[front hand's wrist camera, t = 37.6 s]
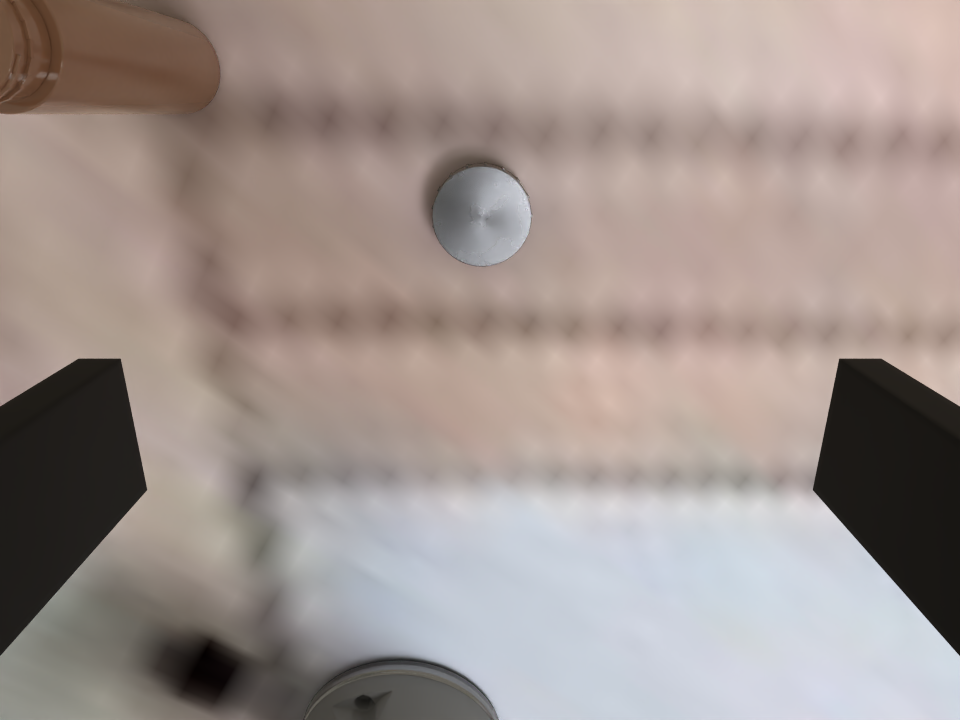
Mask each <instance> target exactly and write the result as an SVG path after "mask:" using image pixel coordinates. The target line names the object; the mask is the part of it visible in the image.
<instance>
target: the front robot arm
mask: <svg viewBox="0 0 960 720" xmlns="http://www.w3.org/2000/svg"><path fill="white" fill-rule="evenodd" d="M146 491H147V487H146V482H145V477H144V472H143V467H142V462H141V457H140V452H139V447H138V442H137V437H136V432H135V427H134V422H133V417H132V412H131V407H130V402H129V398H128V393H127V388H126V383H125V378H124V373H123V368H122V363H121V359H77V360H76V361H74V362H73V363H71V364H69V365H68V366H66V367H64V368H63V369H61V370H59V371H58V372H56V373H54V374H53V375H51V376H50V377H48V378H46V379H45V380H43V381H41V382H40V383H38V384H36V385H35V386H33V387H32V388H30V389H28V390H27V391H25V392H23V393H22V394H20V395H18V396H17V397H15V398H13V399H12V400H10V401H9V402H7V403H5V404H4V405H2V406H0V655H1V654H2V653H3V652H4V651H5V650H6V649H7V648H8V646H9V645H10V644H11V643H12V642H13V641H14V640H15V639H16V637H17V636H18V635H19V634H20V633H21V632H22V631H23V629H24V628H25V627H26V626H27V625H28V624H29V623H30V622H31V620H32V619H33V618H34V617H35V616H36V615H37V614H38V613H39V611H40V610H41V609H42V608H43V607H44V606H45V605H46V604H47V602H48V601H49V600H50V599H51V598H52V597H53V596H54V594H55V593H56V592H57V591H58V590H59V589H60V588H61V587H62V585H63V584H64V583H65V582H66V581H67V580H68V579H69V578H70V576H71V575H72V574H73V573H74V572H75V571H76V570H77V569H78V567H79V566H80V565H81V564H82V563H83V562H84V561H85V559H86V558H87V557H88V556H89V555H90V554H91V553H92V552H93V550H94V549H95V548H96V547H97V546H98V545H99V544H100V543H101V541H102V540H103V539H104V538H105V537H106V536H107V535H108V534H109V532H110V531H111V530H112V529H113V528H114V527H115V526H116V524H117V523H118V522H119V521H120V520H121V519H122V518H123V517H124V515H125V514H126V513H127V512H128V511H129V510H130V509H131V508H132V506H133V505H134V504H135V503H136V502H137V501H138V500H139V499H140V497H141V496H142V495H143V494H144V493H145V492H146ZM813 491H814V492H815V493H816V494H817V495H818V496H819V497H820V499H821V500H822V501H823V502H824V503H825V504H826V505H827V506H828V508H829V509H830V510H831V511H832V512H833V513H834V514H835V515H836V517H837V518H838V519H839V520H840V521H841V522H842V523H843V524H844V526H845V527H846V528H847V529H848V530H849V531H850V532H851V534H852V535H853V536H854V537H855V538H856V539H857V540H858V541H859V543H860V544H861V545H862V546H863V547H864V548H865V549H866V550H867V552H868V553H869V554H870V555H871V556H872V557H873V558H874V559H875V561H876V562H877V563H878V564H879V565H880V566H881V567H882V569H883V570H884V571H885V572H886V573H887V574H888V575H889V576H890V578H891V579H892V580H893V581H894V582H895V583H896V584H897V585H898V587H899V588H900V589H901V590H902V591H903V592H904V593H905V594H906V596H907V597H908V598H909V599H910V600H911V601H912V602H913V604H914V605H915V606H916V607H917V608H918V609H919V610H920V611H921V613H922V614H923V615H924V616H925V617H926V618H927V619H928V620H929V622H930V623H931V624H932V625H933V626H934V627H935V628H936V629H937V631H938V632H939V633H940V634H941V635H942V636H943V637H944V639H945V640H946V641H947V642H948V643H949V644H950V645H951V646H952V648H953V649H954V650H955V651H956V652H957V653H958V654H959V655H960V406H958V405H956V404H955V403H953V402H951V401H950V400H948V399H947V398H945V397H943V396H942V395H940V394H938V393H937V392H935V391H933V390H932V389H930V388H928V387H927V386H925V385H924V384H922V383H920V382H919V381H917V380H915V379H914V378H912V377H910V376H909V375H907V374H906V373H904V372H902V371H901V370H899V369H897V368H896V367H894V366H892V365H891V364H889V363H887V362H886V361H884V360H883V359H839V363H838V368H837V373H836V378H835V383H834V388H833V393H832V398H831V402H830V407H829V412H828V417H827V422H826V427H825V432H824V437H823V442H822V447H821V452H820V457H819V462H818V467H817V472H816V477H815V482H814V487H813ZM304 720H498V717H497V715H496V712H495V710H494V709H493V707H492V705H491V704H490V702H489V701H488V699H487V698H486V697H485V696H484V695H483V693H482V692H481V691H479V690H478V689H477V688H476V687H475V686H474V685H473V684H471V683H470V682H469V681H467V680H466V679H464V678H462V677H461V676H459V675H457V674H455V673H453V672H451V671H448V670H446V669H444V668H441V667H438V666H435V665H431V664H426V663H421V662H415V661H404V660H393V661H381V662H374V663H370V664H365V665H362V666H359V667H356V668H353V669H351V670H348V671H346V672H344V673H342V674H340V675H338V676H337V677H335V678H334V679H332V680H331V681H329V682H328V683H327V684H326V685H325V686H323V687H322V689H321V690H320V691H319V692H318V693H317V694H316V695H315V697H314V698H313V699H312V701H311V703H310V704H309V706H308V709H307V711H306V714H305V717H304Z"/></svg>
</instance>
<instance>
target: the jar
mask: <svg viewBox="0 0 960 720" xmlns="http://www.w3.org/2000/svg"><path fill="white" fill-rule="evenodd" d="M219 80H220V67H219V62H218V58H217V55H216V52H215V50H214V48H213V46H212V45H211V43H210V42H209V40H208V39H207V38H206V36H205V35H204V34H203V33H202V32H201V31H200V30H198V29H197V28H196V27H194V26H193V25H191V24H189V23H187V22H185V21H182V20H179V19H176V18H172V17H169V16H166V15H163V14H160V13H157V12H153V11H150V10H147V9H144V8H141V7H137V6H134V5H131V4H128V3H125V2H122V1H118V0H0V113H1V114H190V113H194V112H197V111H199V110H201V109H202V108H204V107H205V106H206V105H208V104H209V103H210V101H211V100H212V99H213V97H214V96H215V94H216V91H217V89H218V85H219Z"/></svg>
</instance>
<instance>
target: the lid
mask: <svg viewBox="0 0 960 720" xmlns="http://www.w3.org/2000/svg"><path fill="white" fill-rule="evenodd" d="M528 198H529V195H528V194H527V193H526V192H525V191H524V189H523V187H522V186H521V184H520V183H519V179H518V178H515V177H514V176H513V175H512V174H511V173H509V172H508V171H506V170H505V169H504V167H502V168H501V167H499V166H495V165H492V164H486V162H484V163H479V164H472V165H468V164H466V166H465V167H463V168H461V169H459V170H457V171H456V172H454V173H451V174H450V177H449V178H447V180H446V181H445V182H444V183H443V185H442V187H439V189H438V194H437V196H436V199H435V202H434V204H433V206H432V209H433V213H432V220H433V228H434V231H435V234H436V236H437V238H438V240H439V242H440V244H441V245H442V247H443V248H444V249H445V250H446V251H447V252H448V253H449V254H450V255H451V256H452V257H454V258H455V259H457V260H458V261H461V262H463V263H465V264H469V265H473V266H491V265H495V264H498V263H501V262H503V261H505V260H507V259H508V258H510V257H511V256H513V255H514V254H515V253H516V252H517V251H518V250H519V249H520V248H521V246H522V245H523V243H524V242H525V240H526V238H527V236H528V234H529V230H530V226H531V216H532V213H531V207H530V202H529V199H528Z"/></svg>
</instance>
